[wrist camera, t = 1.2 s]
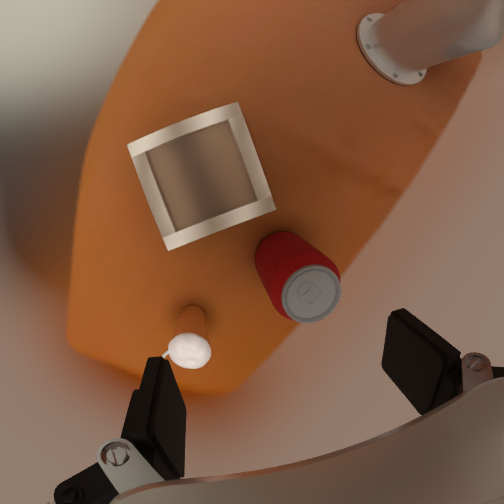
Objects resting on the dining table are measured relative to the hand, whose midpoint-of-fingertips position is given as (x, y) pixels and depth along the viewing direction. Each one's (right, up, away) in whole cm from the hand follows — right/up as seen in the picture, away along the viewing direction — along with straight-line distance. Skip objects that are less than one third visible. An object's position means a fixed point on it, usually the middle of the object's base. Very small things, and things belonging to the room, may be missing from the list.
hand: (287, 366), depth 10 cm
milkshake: (-9, -4, +25) cm, 27 cm away
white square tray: (-7, +13, +20) cm, 25 cm away
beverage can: (+2, +4, +24) cm, 25 cm away
